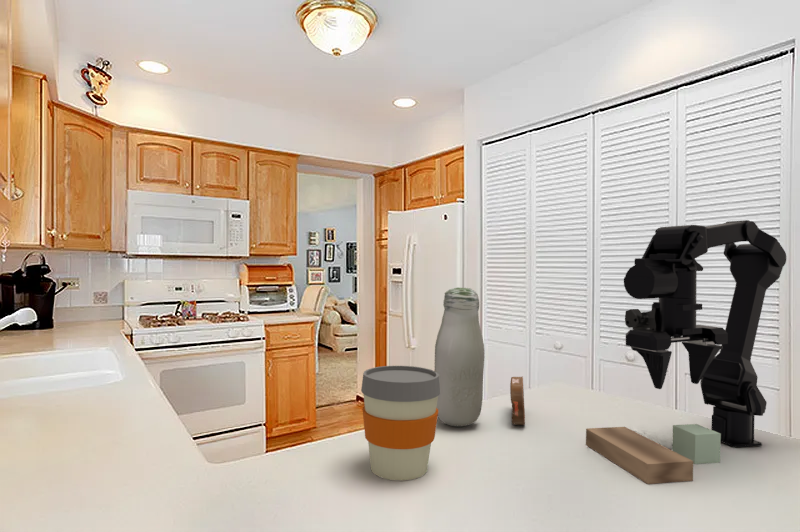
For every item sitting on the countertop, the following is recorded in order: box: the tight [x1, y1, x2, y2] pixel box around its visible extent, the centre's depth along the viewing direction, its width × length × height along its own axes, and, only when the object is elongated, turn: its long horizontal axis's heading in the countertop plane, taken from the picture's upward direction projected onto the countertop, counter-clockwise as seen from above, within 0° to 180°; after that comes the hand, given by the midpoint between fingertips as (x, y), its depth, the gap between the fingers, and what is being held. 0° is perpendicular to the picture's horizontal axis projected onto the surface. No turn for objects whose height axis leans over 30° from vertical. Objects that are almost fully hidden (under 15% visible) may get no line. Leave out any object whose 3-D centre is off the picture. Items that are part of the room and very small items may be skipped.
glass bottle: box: [433, 287, 486, 428], centre depth 97 cm, size 10×10×28 cm
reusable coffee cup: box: [360, 365, 440, 482], centre depth 75 cm, size 13×13×15 cm
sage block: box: [671, 423, 722, 465], centre depth 83 cm, size 5×5×5 cm
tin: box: [509, 376, 526, 427], centre depth 102 cm, size 15×3×8 cm, turn 165°
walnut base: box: [585, 426, 694, 485], centre depth 80 cm, size 8×16×3 cm, turn 11°
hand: (676, 385), depth 84 cm, fingers open, 9 cm apart
